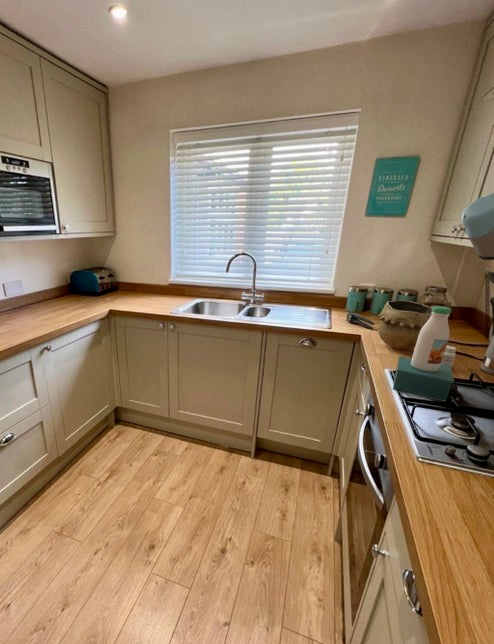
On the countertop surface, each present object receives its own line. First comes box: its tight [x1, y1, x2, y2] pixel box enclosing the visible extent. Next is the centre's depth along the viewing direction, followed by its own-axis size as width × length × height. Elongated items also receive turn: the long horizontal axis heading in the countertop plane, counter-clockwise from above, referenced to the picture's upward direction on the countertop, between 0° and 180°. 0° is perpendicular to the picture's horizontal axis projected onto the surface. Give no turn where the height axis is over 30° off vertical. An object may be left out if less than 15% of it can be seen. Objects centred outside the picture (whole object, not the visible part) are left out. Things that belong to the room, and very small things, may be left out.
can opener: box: [346, 312, 375, 330], centre depth 181 cm, size 18×7×6 cm, turn 17°
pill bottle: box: [441, 345, 457, 369], centre depth 125 cm, size 5×5×8 cm
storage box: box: [392, 355, 455, 401], centre depth 109 cm, size 15×15×7 cm
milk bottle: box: [411, 305, 452, 372], centre depth 104 cm, size 8×8×20 cm
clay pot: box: [377, 299, 433, 350], centre depth 143 cm, size 21×21×20 cm
